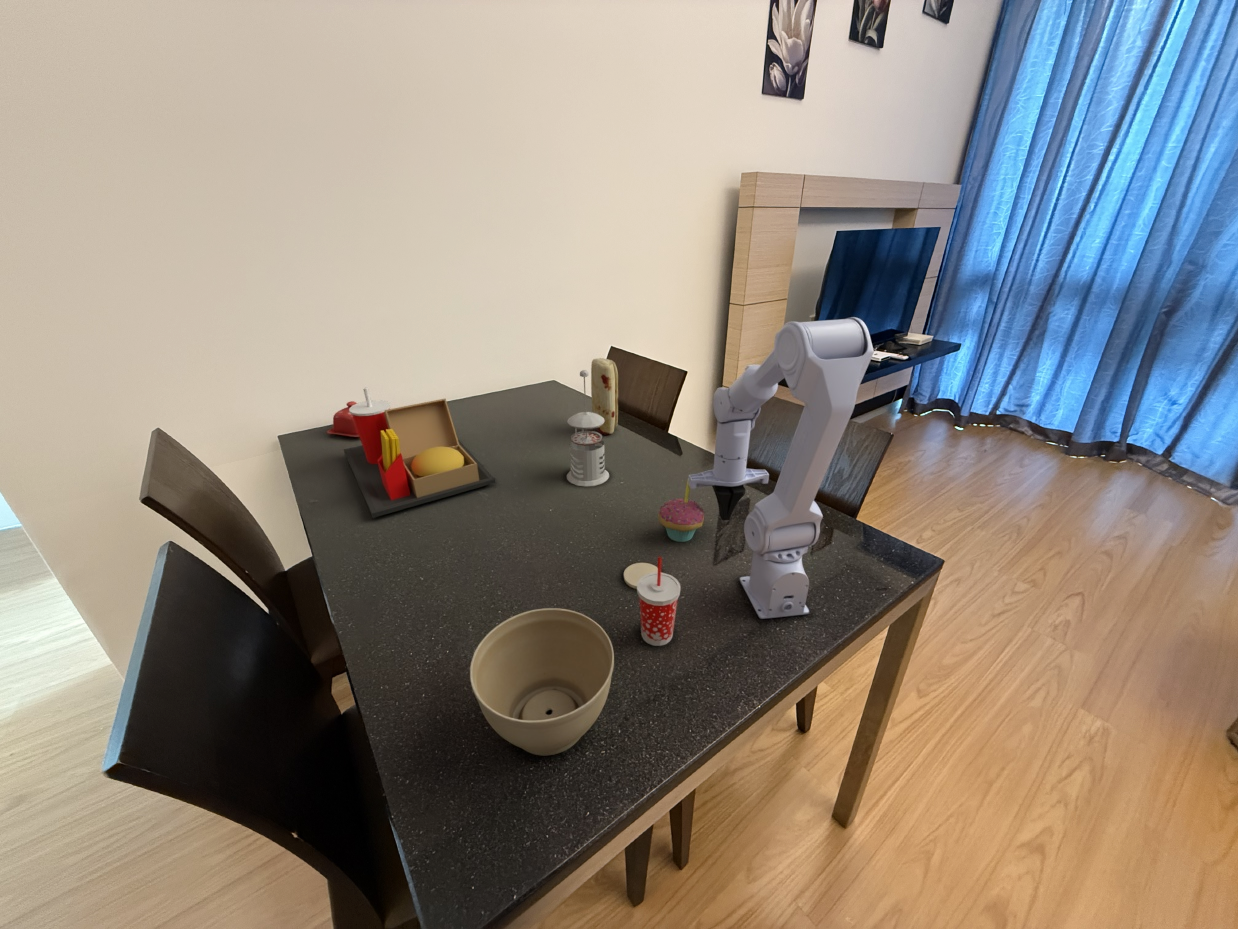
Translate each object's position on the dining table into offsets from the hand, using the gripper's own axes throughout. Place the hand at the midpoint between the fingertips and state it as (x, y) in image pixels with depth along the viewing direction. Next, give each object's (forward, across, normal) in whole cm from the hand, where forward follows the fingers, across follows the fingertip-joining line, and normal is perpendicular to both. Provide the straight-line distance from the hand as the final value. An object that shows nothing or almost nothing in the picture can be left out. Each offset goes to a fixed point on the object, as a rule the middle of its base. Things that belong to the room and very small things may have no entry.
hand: (724, 517), depth 99 cm
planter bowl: (+3, +34, +36) cm, 50 cm away
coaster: (+3, +18, +11) cm, 21 cm away
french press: (+3, +24, -27) cm, 36 cm away
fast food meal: (+3, +63, -34) cm, 72 cm away
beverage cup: (+3, +18, +24) cm, 30 cm away
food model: (+3, +17, -51) cm, 54 cm away
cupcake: (+3, +8, 0) cm, 9 cm away
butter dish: (+4, +84, -61) cm, 104 cm away
